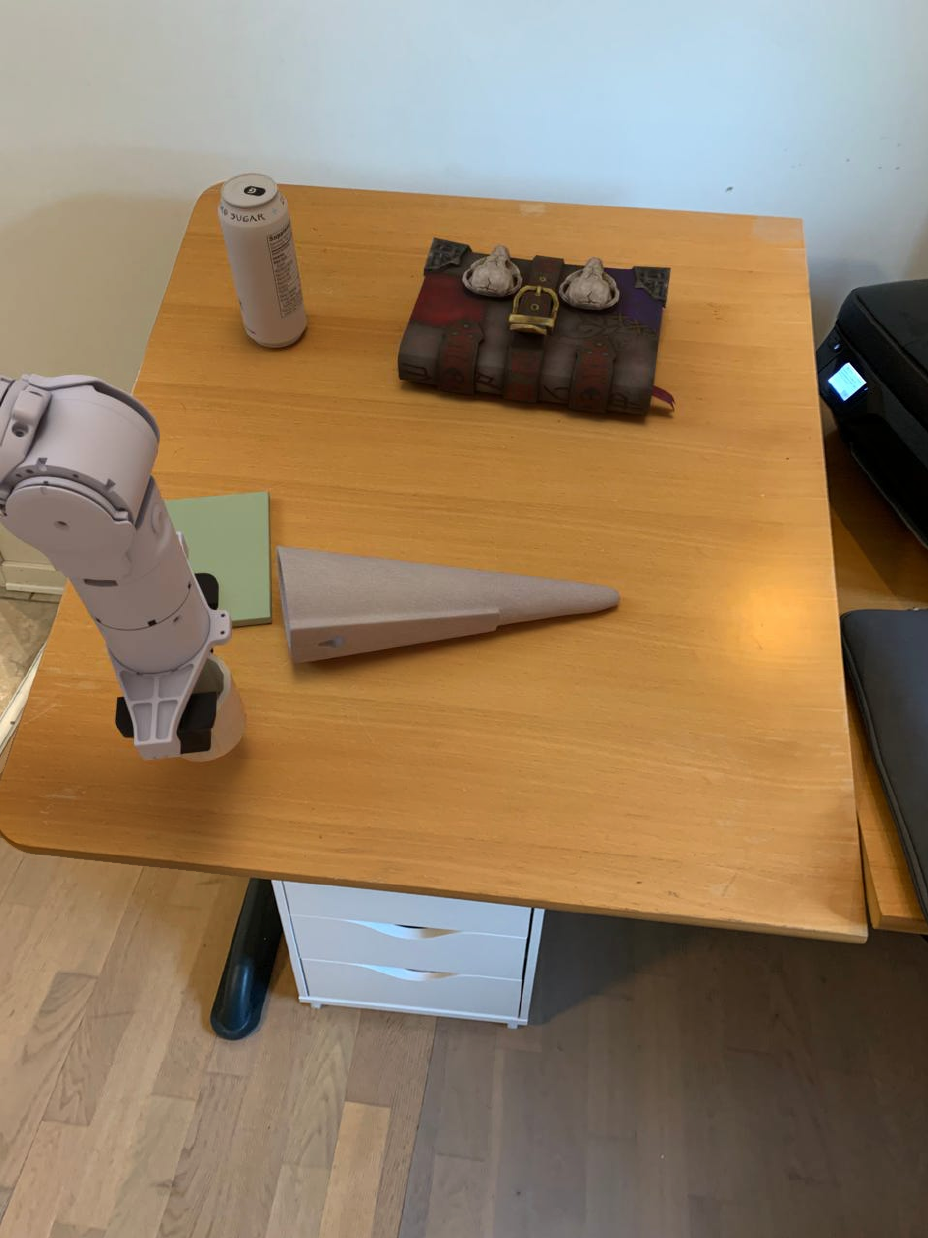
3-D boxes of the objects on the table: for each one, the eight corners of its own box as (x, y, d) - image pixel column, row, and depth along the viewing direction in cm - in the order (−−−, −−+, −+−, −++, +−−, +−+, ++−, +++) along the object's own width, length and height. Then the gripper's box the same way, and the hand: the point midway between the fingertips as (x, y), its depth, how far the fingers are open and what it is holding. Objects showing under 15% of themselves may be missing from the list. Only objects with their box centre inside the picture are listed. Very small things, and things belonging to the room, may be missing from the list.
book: (389, 390, 88) (384, 326, 82) (433, 273, 97) (432, 208, 91) (671, 436, 85) (688, 374, 79) (688, 311, 94) (705, 247, 88)
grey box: (600, 492, 75) (274, 523, 69) (636, 576, 70) (289, 617, 64) (579, 554, 81) (278, 587, 75) (611, 635, 76) (292, 677, 70)
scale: (130, 641, 72) (121, 623, 70) (141, 509, 79) (133, 489, 77) (272, 626, 73) (267, 609, 71) (270, 497, 80) (265, 477, 78)
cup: (162, 767, 62) (139, 730, 58) (166, 693, 65) (145, 652, 61) (246, 757, 63) (230, 720, 58) (246, 685, 66) (230, 644, 61)
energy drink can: (261, 305, 94) (231, 163, 82) (317, 317, 93) (295, 175, 81) (236, 344, 91) (201, 202, 78) (293, 357, 90) (267, 215, 77)
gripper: (210, 696, 47) (257, 801, 58) (215, 478, 54) (256, 608, 66) (65, 711, 46) (141, 814, 57) (92, 489, 54) (154, 618, 65)
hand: (195, 705), depth 61 cm, fingers closed on cup, 5 cm apart
